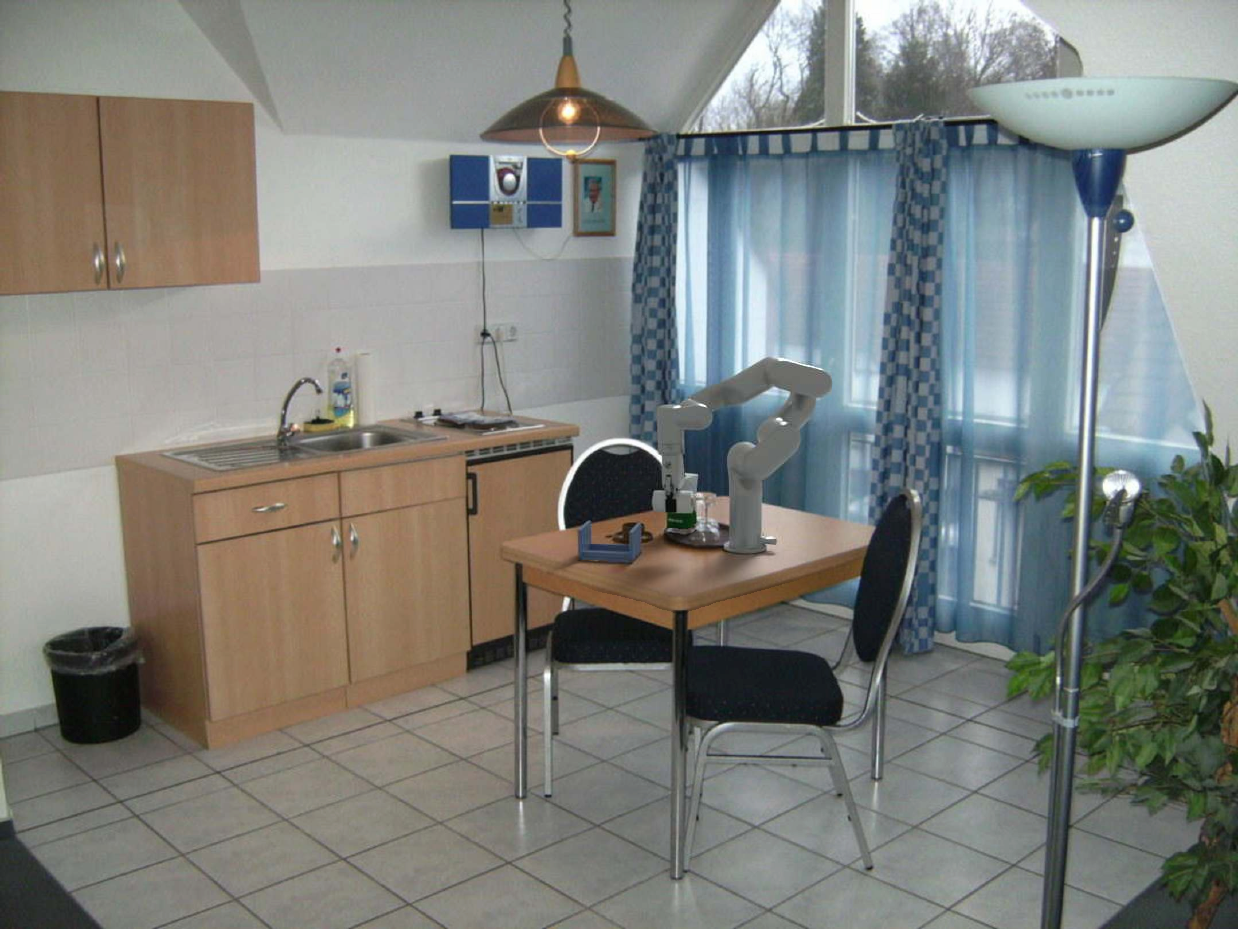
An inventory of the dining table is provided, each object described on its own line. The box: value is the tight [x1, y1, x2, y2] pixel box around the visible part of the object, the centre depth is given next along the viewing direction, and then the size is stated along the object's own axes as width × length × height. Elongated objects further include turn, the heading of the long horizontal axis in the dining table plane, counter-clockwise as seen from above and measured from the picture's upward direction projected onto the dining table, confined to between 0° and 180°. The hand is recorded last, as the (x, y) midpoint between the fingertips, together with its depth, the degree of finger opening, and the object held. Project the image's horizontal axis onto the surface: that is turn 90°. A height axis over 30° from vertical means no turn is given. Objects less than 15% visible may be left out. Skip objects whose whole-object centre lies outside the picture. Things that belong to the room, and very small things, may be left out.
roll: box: [651, 490, 695, 514], centre depth 365 cm, size 12×6×6 cm, turn 77°
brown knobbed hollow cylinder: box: [605, 521, 654, 547], centre depth 383 cm, size 18×20×6 cm
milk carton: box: [666, 468, 699, 530], centre depth 393 cm, size 9×9×20 cm
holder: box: [577, 520, 642, 564], centre depth 366 cm, size 16×11×9 cm
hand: (673, 508), depth 365 cm, fingers closed on roll, 6 cm apart
